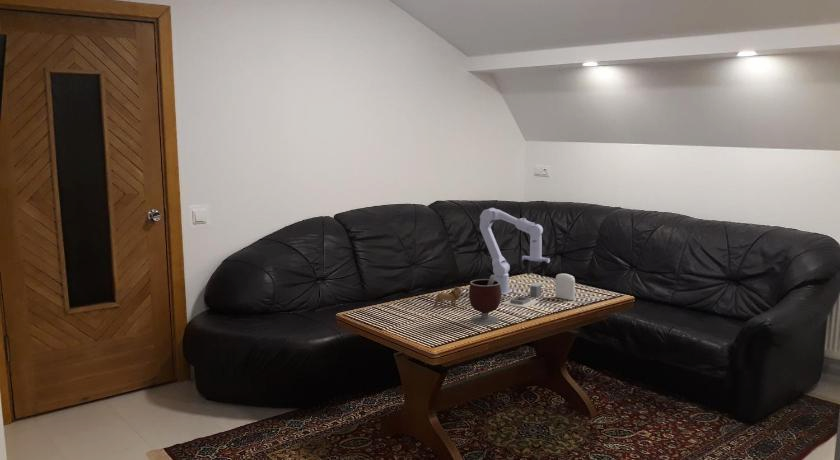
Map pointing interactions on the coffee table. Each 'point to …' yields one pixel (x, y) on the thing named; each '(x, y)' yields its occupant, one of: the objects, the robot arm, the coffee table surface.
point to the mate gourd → (485, 299)
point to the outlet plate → (520, 302)
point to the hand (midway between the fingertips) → (535, 275)
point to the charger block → (535, 290)
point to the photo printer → (565, 286)
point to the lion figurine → (449, 297)
